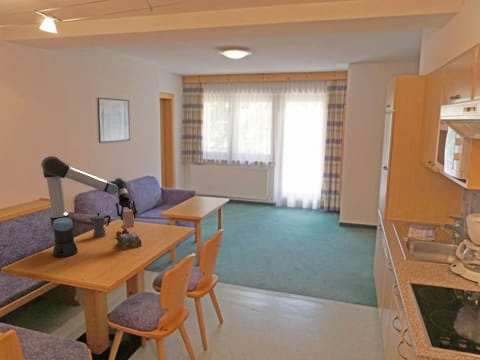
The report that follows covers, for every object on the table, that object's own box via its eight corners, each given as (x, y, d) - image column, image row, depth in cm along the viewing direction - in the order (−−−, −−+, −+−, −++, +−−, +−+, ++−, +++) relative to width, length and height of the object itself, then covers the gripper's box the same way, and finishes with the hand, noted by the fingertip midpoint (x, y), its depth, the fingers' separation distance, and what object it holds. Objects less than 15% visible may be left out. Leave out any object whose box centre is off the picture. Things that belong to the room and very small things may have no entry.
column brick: (125, 228, 255) (124, 212, 253) (123, 226, 260) (122, 210, 258) (133, 227, 258) (132, 210, 256) (131, 225, 263) (131, 209, 261)
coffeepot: (90, 238, 277) (89, 215, 274) (90, 235, 285) (89, 212, 283) (112, 236, 282) (110, 213, 280) (111, 232, 291) (110, 210, 288)
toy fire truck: (115, 237, 279) (115, 225, 278) (130, 233, 290) (130, 221, 288) (118, 238, 277) (117, 225, 276) (133, 233, 288) (132, 221, 286)
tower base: (121, 249, 252) (120, 239, 251) (117, 243, 264) (117, 234, 263) (141, 245, 258) (141, 236, 257) (137, 240, 270) (136, 231, 269)
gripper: (135, 197, 274) (142, 223, 263) (109, 200, 265) (114, 227, 254) (137, 192, 269) (143, 218, 257) (110, 194, 260) (115, 222, 248)
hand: (129, 222), depth 255 cm, fingers closed on column brick, 6 cm apart
